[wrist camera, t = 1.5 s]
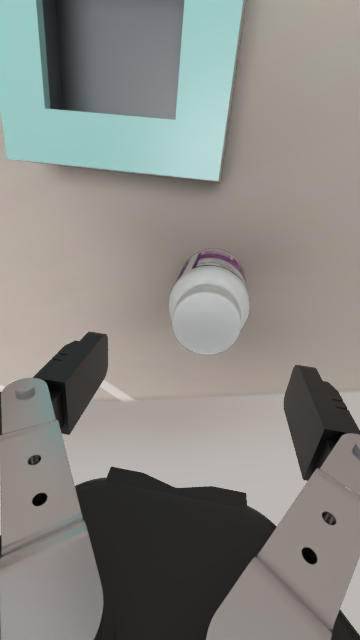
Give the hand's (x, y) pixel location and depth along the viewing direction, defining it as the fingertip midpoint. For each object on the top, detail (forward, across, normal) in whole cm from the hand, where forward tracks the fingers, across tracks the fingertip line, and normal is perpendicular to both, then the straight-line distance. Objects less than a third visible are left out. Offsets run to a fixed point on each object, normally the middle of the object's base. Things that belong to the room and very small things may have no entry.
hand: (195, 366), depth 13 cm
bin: (+14, +7, -14) cm, 21 cm away
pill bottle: (+14, 0, 0) cm, 14 cm away
